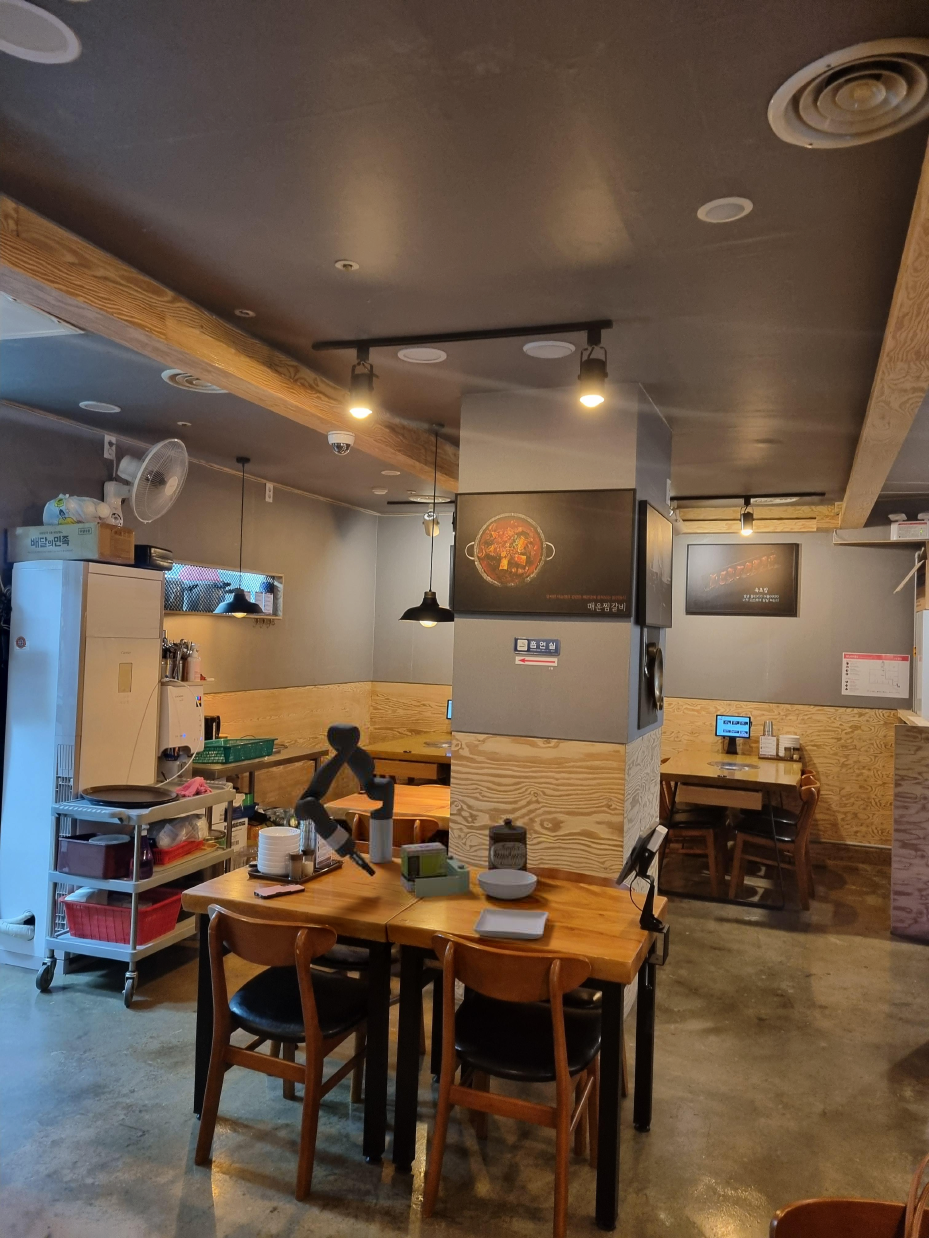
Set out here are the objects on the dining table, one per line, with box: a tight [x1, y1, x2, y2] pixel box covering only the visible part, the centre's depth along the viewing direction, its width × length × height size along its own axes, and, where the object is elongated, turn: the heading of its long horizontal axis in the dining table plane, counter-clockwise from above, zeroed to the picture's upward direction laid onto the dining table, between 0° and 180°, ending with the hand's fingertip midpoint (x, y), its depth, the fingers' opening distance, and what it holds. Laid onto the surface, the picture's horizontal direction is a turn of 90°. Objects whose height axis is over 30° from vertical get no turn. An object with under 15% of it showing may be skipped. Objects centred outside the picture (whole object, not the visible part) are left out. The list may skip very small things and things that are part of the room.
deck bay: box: [414, 854, 471, 898], centre depth 308 cm, size 22×20×9 cm
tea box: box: [400, 842, 448, 892], centre depth 309 cm, size 15×10×15 cm
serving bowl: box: [477, 869, 538, 900], centre depth 299 cm, size 21×21×7 cm
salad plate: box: [472, 908, 549, 940], centre depth 263 cm, size 21×21×3 cm
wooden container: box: [487, 817, 528, 872], centre depth 325 cm, size 15×15×22 cm
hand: (373, 874), depth 302 cm, fingers closed
